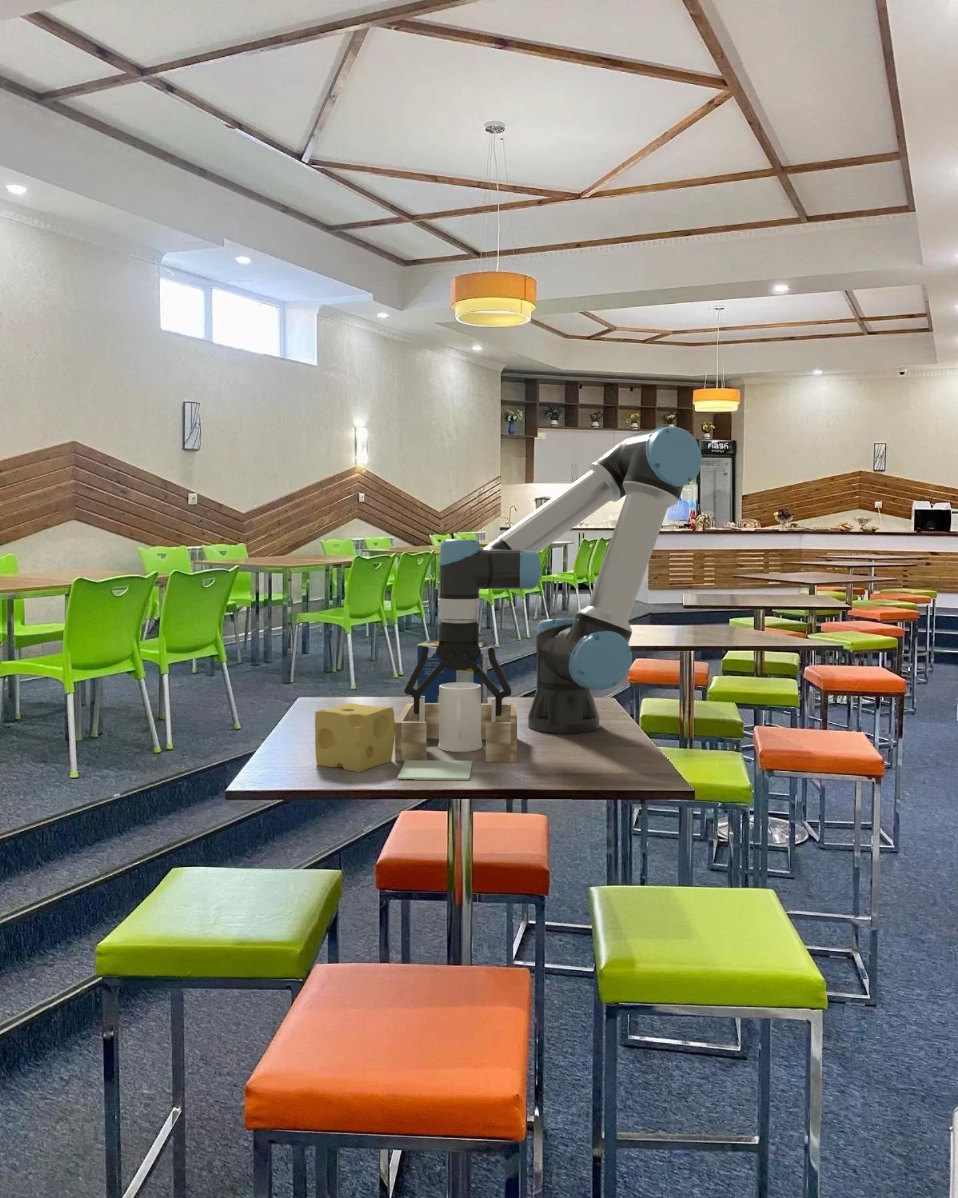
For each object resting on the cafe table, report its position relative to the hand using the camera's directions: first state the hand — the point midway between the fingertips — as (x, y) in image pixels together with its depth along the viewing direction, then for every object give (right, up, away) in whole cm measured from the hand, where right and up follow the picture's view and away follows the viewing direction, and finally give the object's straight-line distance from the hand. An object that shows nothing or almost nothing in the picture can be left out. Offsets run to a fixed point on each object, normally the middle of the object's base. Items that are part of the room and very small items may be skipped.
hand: (457, 732), depth 181 cm
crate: (0, -3, 0) cm, 3 cm away
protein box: (-2, -1, +43) cm, 43 cm away
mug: (0, -4, 0) cm, 4 cm away
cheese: (-18, -4, -11) cm, 22 cm away
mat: (-3, -4, -17) cm, 17 cm away
